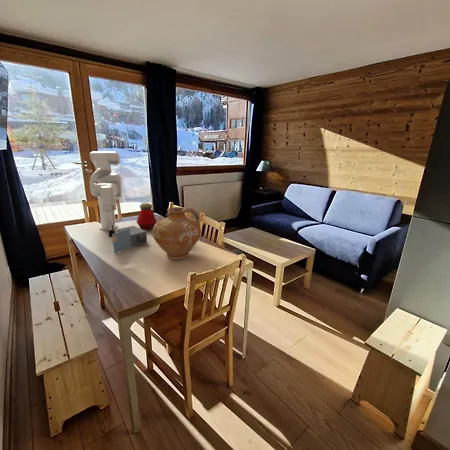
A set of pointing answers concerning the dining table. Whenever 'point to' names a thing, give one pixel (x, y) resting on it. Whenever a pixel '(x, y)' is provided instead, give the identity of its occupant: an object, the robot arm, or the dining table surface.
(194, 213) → the jug
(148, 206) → the bottle
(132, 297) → the dining table surface
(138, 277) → the dining table surface
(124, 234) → the side door
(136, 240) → the box
